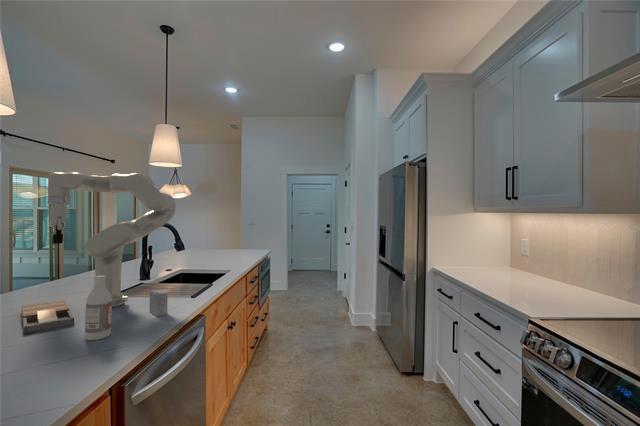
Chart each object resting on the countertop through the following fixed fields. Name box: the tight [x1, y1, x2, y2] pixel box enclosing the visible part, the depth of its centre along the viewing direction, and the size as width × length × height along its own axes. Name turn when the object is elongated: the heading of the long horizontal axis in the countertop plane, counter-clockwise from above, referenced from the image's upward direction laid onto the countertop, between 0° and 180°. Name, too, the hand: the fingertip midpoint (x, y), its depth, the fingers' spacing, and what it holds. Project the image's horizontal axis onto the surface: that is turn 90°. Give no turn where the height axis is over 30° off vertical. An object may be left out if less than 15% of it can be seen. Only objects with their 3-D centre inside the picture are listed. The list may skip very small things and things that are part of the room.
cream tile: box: [38, 316, 58, 324], centre depth 107 cm, size 5×5×2 cm
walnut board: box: [21, 299, 71, 324], centre depth 119 cm, size 16×13×3 cm
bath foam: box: [84, 275, 113, 341], centre depth 100 cm, size 7×7×20 cm
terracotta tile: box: [37, 309, 56, 323], centre depth 111 cm, size 5×5×2 cm
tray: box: [22, 310, 75, 335], centre depth 109 cm, size 12×13×2 cm
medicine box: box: [148, 289, 169, 317], centre depth 125 cm, size 8×4×9 cm, turn 47°
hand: (57, 243), depth 131 cm, fingers closed
